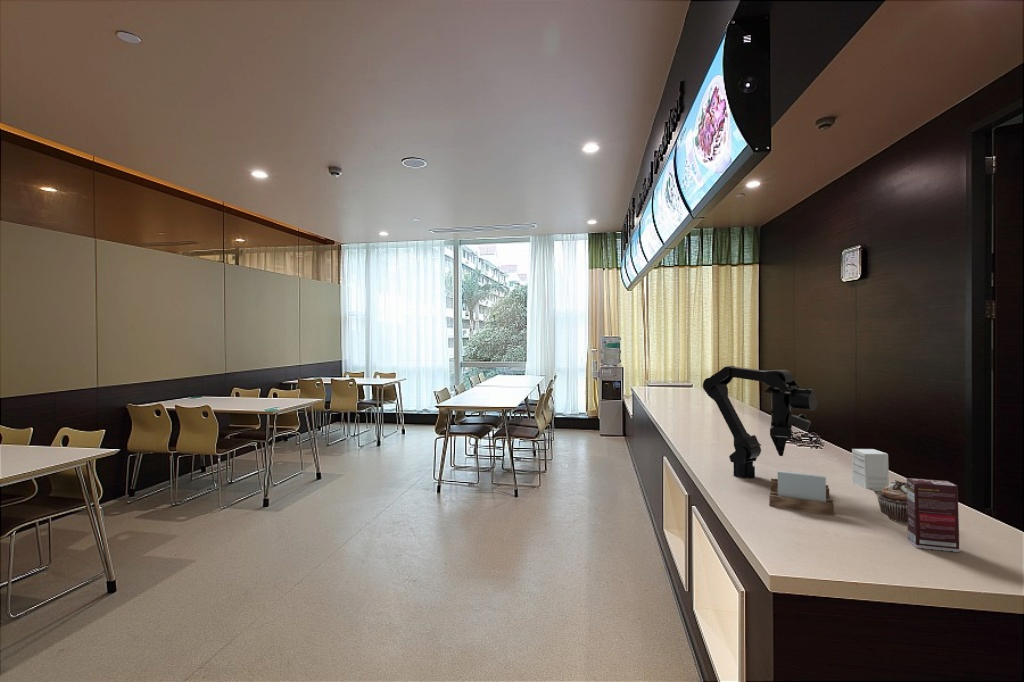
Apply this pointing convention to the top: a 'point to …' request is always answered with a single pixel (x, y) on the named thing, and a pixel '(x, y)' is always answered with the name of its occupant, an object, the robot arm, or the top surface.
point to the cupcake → (894, 501)
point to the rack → (800, 501)
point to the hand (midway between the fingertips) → (781, 452)
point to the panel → (802, 486)
